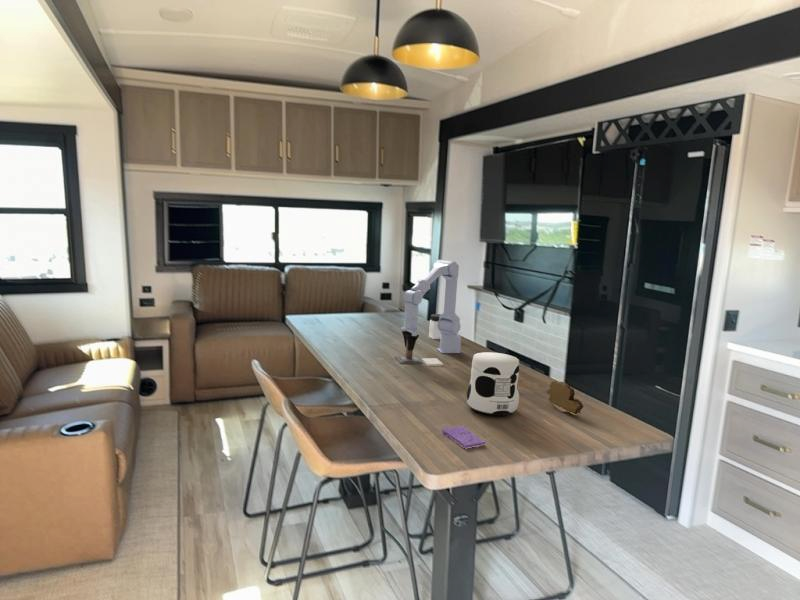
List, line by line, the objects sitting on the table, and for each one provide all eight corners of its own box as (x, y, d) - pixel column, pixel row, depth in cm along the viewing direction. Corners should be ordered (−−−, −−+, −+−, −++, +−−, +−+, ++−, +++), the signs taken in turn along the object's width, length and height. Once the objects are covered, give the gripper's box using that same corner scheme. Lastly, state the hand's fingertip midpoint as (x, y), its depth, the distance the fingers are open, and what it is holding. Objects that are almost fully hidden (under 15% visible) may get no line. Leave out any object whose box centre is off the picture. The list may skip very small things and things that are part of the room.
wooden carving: (586, 418, 177) (589, 389, 175) (575, 420, 175) (579, 391, 173) (550, 402, 191) (553, 375, 190) (541, 403, 189) (543, 376, 188)
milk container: (482, 397, 192) (486, 348, 189) (526, 410, 181) (531, 359, 178) (455, 409, 179) (459, 357, 176) (501, 424, 168) (506, 368, 165)
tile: (436, 358, 238) (443, 363, 230) (436, 361, 238) (442, 366, 230) (421, 358, 237) (427, 364, 228) (421, 361, 237) (427, 367, 228)
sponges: (464, 451, 148) (465, 444, 147) (441, 433, 159) (441, 427, 159) (485, 447, 151) (486, 441, 151) (461, 430, 162) (461, 424, 162)
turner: (415, 358, 237) (416, 339, 236) (419, 361, 231) (420, 342, 230) (400, 358, 236) (401, 339, 234) (403, 362, 230) (404, 342, 228)
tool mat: (416, 357, 241) (416, 356, 241) (422, 363, 231) (422, 362, 231) (394, 357, 239) (394, 356, 239) (400, 363, 229) (400, 362, 229)
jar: (426, 336, 285) (427, 314, 283) (439, 335, 289) (441, 313, 287) (434, 340, 277) (436, 317, 275) (448, 339, 281) (449, 316, 279)
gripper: (398, 314, 238) (396, 344, 240) (406, 321, 224) (404, 352, 226) (413, 314, 240) (411, 344, 242) (422, 321, 226) (420, 352, 228)
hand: (409, 348), depth 234 cm, fingers open, 5 cm apart
